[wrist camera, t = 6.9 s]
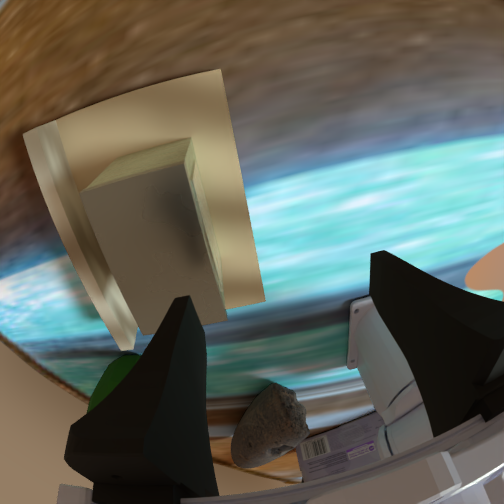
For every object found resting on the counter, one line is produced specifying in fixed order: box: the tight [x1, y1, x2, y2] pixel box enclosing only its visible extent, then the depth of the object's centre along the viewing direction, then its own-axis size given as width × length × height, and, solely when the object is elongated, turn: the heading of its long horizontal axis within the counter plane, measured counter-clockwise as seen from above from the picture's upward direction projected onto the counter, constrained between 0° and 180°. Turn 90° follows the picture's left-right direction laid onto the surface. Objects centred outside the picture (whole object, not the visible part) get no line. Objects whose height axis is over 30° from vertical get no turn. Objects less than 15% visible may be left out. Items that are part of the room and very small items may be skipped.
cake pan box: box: [296, 412, 385, 483], centre depth 32 cm, size 19×5×18 cm, turn 113°
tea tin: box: [79, 138, 228, 335], centre depth 16 cm, size 8×5×6 cm, turn 10°
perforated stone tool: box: [231, 383, 310, 468], centre depth 30 cm, size 15×5×7 cm, turn 155°
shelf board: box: [23, 69, 266, 351], centre depth 19 cm, size 16×11×4 cm
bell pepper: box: [87, 355, 141, 413], centre depth 24 cm, size 8×8×10 cm
